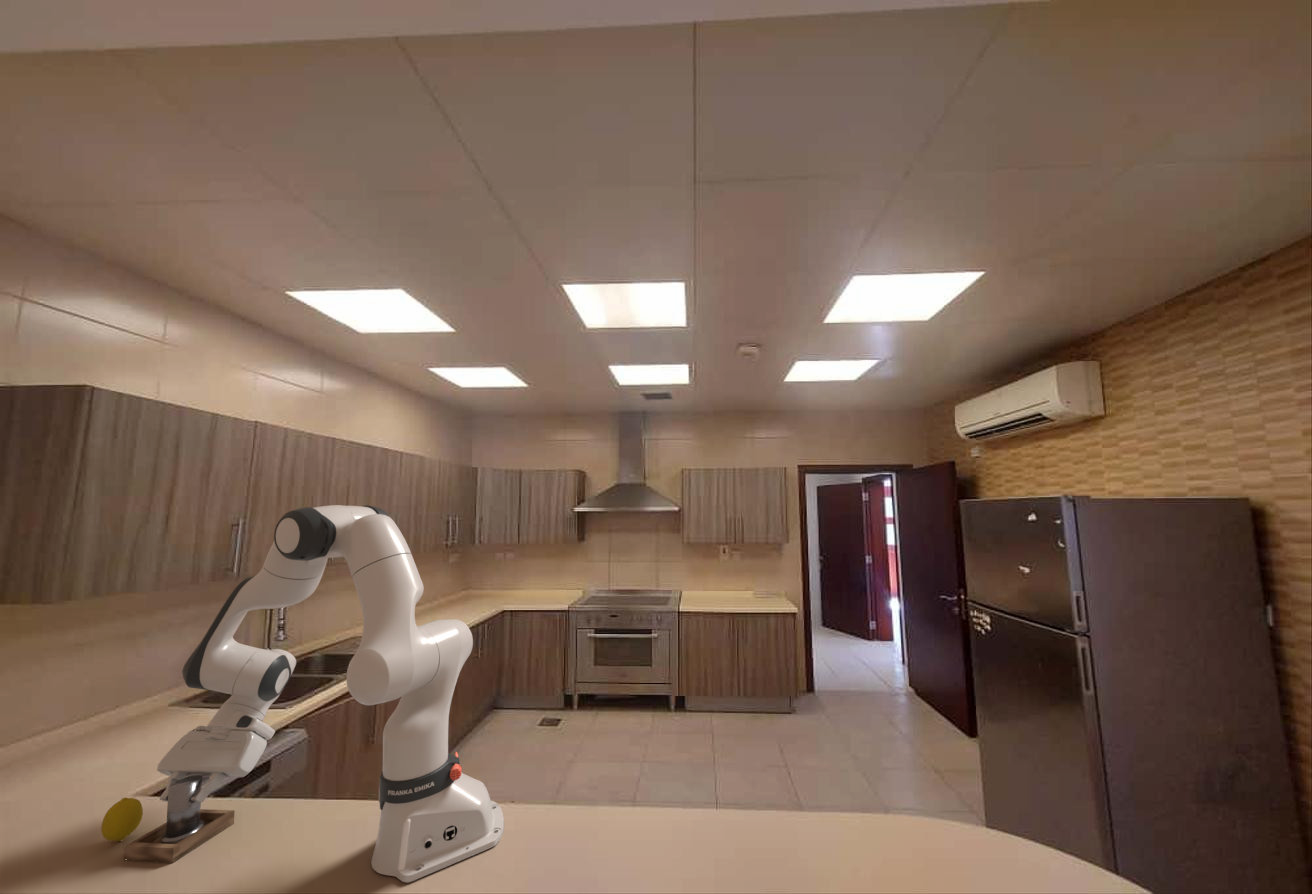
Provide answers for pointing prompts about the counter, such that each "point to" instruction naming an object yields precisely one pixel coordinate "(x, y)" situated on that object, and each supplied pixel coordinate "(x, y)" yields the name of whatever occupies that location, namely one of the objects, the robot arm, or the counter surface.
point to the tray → (154, 851)
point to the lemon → (122, 819)
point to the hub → (182, 810)
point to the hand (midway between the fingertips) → (180, 801)
